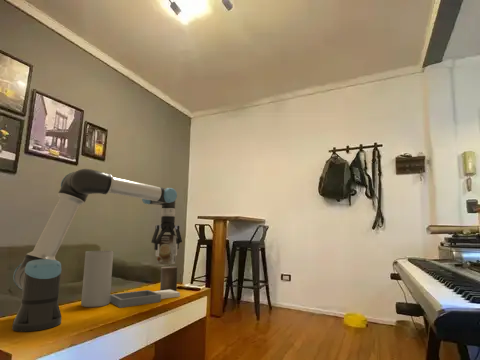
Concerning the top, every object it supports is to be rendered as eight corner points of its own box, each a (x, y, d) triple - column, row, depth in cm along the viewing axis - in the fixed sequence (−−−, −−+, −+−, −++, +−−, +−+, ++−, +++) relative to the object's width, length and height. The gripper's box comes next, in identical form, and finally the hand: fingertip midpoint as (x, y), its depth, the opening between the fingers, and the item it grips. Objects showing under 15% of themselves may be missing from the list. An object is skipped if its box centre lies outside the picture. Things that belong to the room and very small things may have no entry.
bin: (120, 307, 141) (120, 299, 141) (109, 301, 153) (109, 294, 153) (160, 301, 153) (160, 294, 154) (147, 296, 165) (148, 289, 166)
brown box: (178, 291, 182) (179, 265, 185) (162, 292, 177) (164, 265, 180) (173, 288, 190) (174, 263, 193) (157, 290, 185) (159, 264, 188)
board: (159, 299, 159) (159, 295, 159) (149, 295, 168) (150, 291, 168) (179, 296, 166) (180, 292, 167) (169, 293, 175) (169, 289, 176)
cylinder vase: (111, 301, 154) (114, 250, 159) (107, 306, 143) (111, 251, 147) (84, 302, 151) (88, 250, 156) (78, 308, 139) (83, 252, 144)
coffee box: (156, 264, 167) (157, 234, 170) (160, 263, 174) (161, 234, 176) (172, 264, 167) (173, 234, 169) (175, 263, 173) (176, 234, 176)
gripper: (151, 214, 165) (149, 257, 161) (188, 216, 179) (187, 255, 175) (146, 215, 170) (144, 256, 167) (182, 217, 185) (181, 254, 181)
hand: (166, 255), depth 171 cm, fingers closed on coffee box, 10 cm apart
